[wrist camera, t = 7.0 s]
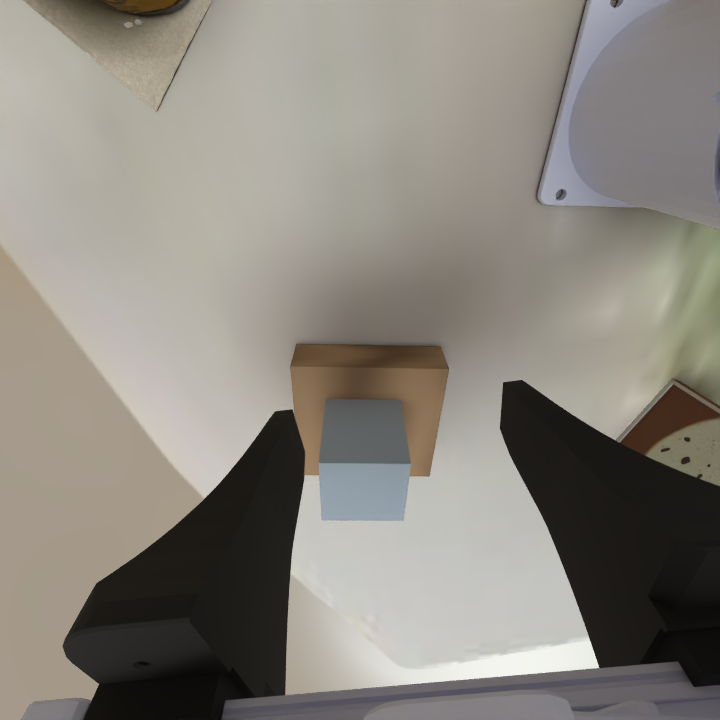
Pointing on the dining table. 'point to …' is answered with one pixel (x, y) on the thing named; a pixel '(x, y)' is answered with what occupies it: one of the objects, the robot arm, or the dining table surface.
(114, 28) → the condiment
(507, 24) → the dining table surface
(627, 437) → the food container
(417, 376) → the base
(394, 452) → the block
